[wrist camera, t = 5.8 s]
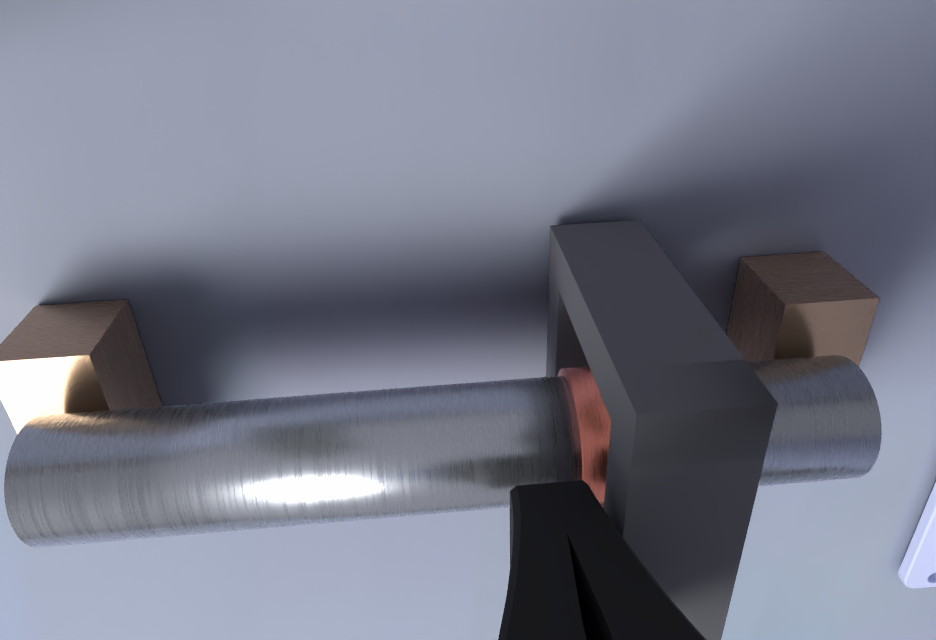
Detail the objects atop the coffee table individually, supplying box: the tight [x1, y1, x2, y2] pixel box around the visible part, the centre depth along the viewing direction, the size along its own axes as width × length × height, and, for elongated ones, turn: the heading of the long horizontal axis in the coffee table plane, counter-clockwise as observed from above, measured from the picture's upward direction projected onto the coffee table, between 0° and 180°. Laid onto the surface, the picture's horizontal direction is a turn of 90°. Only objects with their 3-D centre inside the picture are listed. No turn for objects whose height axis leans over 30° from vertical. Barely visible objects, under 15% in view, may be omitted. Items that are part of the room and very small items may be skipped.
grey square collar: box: [546, 220, 778, 640], centre depth 14 cm, size 2×6×7 cm, turn 2°
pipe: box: [0, 252, 881, 547], centre depth 15 cm, size 18×4×5 cm, turn 92°
